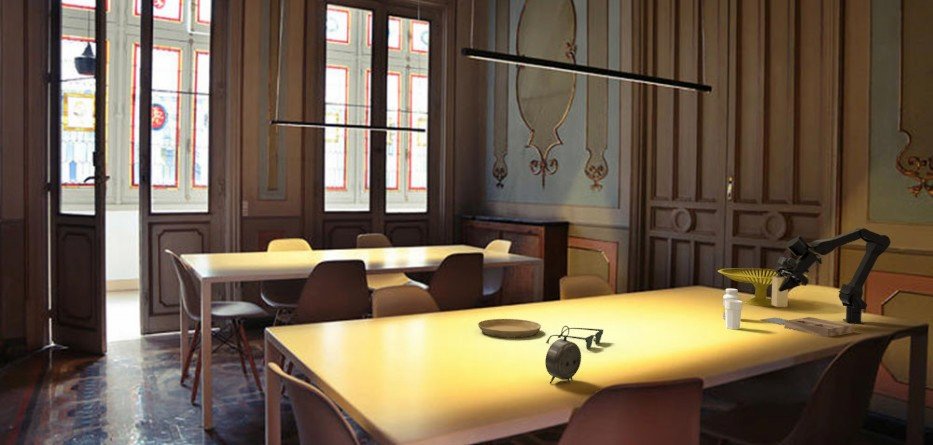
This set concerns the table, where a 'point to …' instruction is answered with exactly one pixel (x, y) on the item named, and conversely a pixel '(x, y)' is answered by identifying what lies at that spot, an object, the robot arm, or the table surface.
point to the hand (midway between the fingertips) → (776, 290)
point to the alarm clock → (563, 359)
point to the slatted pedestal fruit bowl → (757, 281)
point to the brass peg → (779, 297)
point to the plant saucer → (509, 327)
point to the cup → (733, 313)
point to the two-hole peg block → (819, 326)
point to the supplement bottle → (729, 297)
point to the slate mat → (775, 320)
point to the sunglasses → (588, 339)
